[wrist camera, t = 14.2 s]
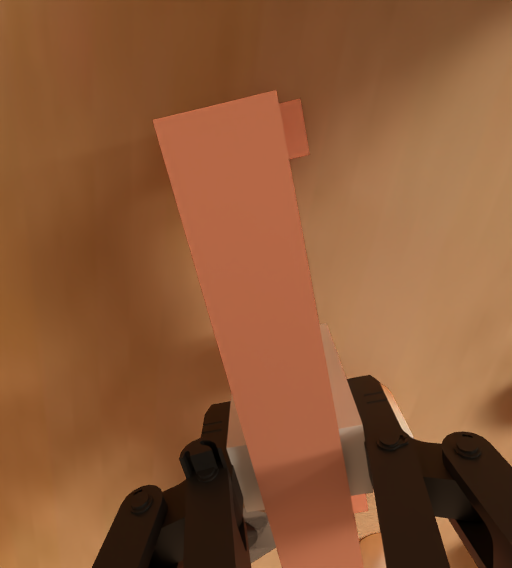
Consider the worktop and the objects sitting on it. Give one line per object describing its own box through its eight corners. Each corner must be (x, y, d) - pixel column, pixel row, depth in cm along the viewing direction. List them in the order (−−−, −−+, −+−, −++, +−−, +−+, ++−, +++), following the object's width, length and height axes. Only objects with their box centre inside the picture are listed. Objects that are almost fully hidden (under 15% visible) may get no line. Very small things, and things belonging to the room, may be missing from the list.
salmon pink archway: (172, 129, 16) (97, 133, 8) (298, 99, 15) (335, 75, 8) (277, 512, 23) (286, 693, 16) (364, 498, 23) (416, 678, 15)
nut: (196, 471, 23) (189, 511, 21) (265, 459, 23) (266, 498, 20) (216, 528, 25) (212, 571, 22) (281, 517, 24) (284, 560, 22)
